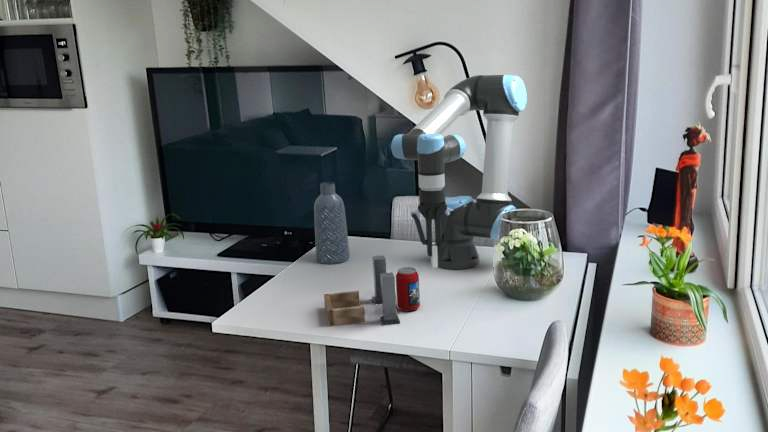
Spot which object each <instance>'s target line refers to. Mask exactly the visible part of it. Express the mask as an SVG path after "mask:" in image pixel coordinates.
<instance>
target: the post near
mask: <svg viewBox="0 0 768 432" xmlns="http://www.w3.org/2000/svg"><path fill="white" fill-rule="evenodd" d="M380 277H381V294H382V304H381V306H382V315H380V316H379V320H380V323H381V325H382V326H389V325H390V326H391V325H398V324H401V321H400V318H399V316H398V313H397V295H396V276H395V275H394V273H393V272H386V273H381V274H380Z"/></svg>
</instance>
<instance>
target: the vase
mask: <svg viewBox="0 0 768 432" xmlns="http://www.w3.org/2000/svg"><path fill="white" fill-rule="evenodd" d="M319 186H320V188H319V189H320V194H319V195H318V196H317V198H316V199H315V202H314V205H313V214H314V215H313V216H314V217H313V218H314V219H313V220H314V222H313V223H314V237H315V238H314V239H315V241H314V243H315V259H316V261H317V262H318V263H320V264H325V265H334V264H335V265H337V264H340V263H343V262H346V261H348V260H349V259H350V244H349V237H348V227H347V218H346V208H345V204H344V201H343V199H342V197H341V196H340V195H339V194H337V193H336V185H335V182H331V181H328V182H321V183H320V184H319Z"/></svg>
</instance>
